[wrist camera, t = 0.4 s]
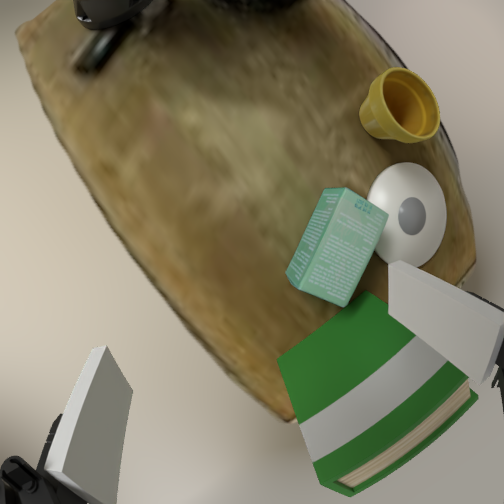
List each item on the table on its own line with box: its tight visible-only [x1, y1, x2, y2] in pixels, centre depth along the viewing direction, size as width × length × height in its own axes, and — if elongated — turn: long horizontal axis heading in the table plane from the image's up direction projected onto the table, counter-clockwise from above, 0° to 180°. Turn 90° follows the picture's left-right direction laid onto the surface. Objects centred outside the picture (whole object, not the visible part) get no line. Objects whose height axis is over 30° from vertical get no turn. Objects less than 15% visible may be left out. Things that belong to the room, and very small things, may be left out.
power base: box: [366, 162, 447, 267], centre depth 39 cm, size 26×17×2 cm, turn 9°
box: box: [286, 188, 389, 307], centre depth 35 cm, size 7×14×8 cm, turn 156°
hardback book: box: [277, 290, 478, 497], centre depth 30 cm, size 18×7×24 cm, turn 128°
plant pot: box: [359, 67, 440, 143], centre depth 31 cm, size 10×10×10 cm
